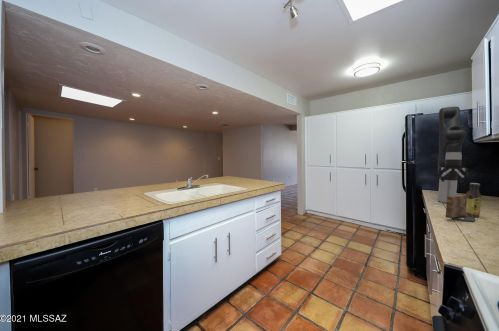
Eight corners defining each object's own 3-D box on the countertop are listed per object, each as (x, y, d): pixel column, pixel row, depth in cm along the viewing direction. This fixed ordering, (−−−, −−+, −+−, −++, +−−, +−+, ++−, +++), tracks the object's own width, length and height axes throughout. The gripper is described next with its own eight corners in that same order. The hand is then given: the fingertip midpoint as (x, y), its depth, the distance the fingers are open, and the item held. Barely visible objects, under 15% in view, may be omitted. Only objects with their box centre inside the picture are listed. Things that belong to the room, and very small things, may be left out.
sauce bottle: (475, 218, 109) (478, 184, 107) (461, 214, 115) (463, 182, 113) (482, 216, 110) (485, 184, 109) (467, 213, 116) (470, 182, 115)
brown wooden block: (458, 213, 111) (459, 194, 110) (468, 216, 107) (470, 195, 106) (442, 216, 108) (444, 196, 107) (452, 218, 104) (454, 197, 103)
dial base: (445, 213, 117) (445, 211, 116) (472, 217, 109) (472, 215, 109) (448, 219, 108) (448, 216, 108) (477, 223, 101) (478, 221, 101)
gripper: (467, 159, 127) (465, 182, 127) (437, 158, 136) (436, 180, 136) (470, 159, 121) (468, 183, 121) (439, 158, 130) (438, 181, 131)
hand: (451, 182), depth 129 cm, fingers open, 8 cm apart
